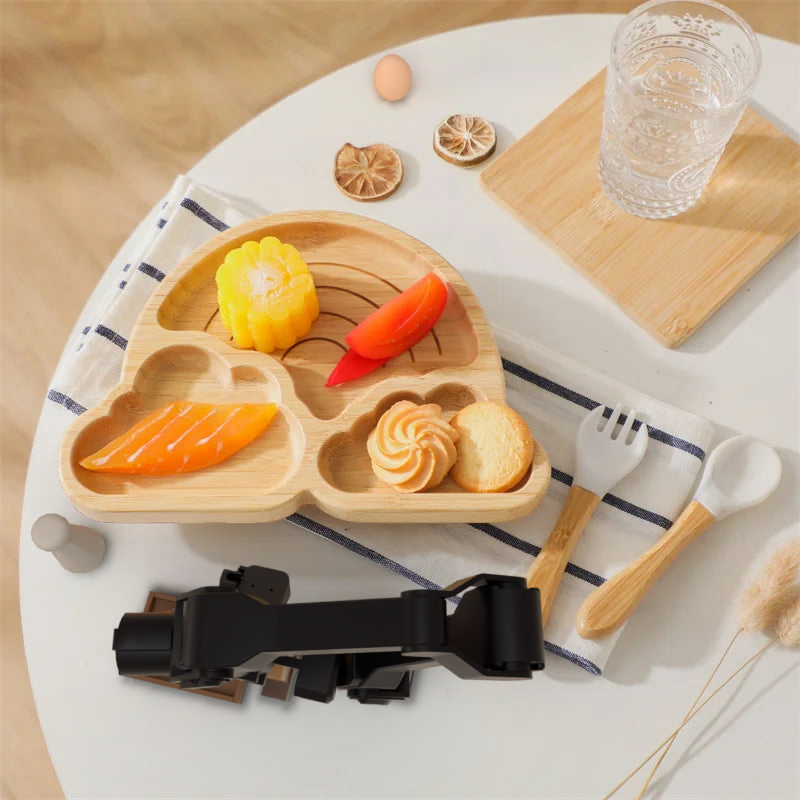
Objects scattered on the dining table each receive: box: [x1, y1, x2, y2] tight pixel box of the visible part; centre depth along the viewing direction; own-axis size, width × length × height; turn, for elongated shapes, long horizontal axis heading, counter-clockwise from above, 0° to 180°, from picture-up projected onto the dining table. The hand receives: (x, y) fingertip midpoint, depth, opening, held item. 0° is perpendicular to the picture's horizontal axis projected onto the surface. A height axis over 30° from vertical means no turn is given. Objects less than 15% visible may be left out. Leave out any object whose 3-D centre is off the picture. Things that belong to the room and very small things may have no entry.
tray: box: [124, 590, 248, 705], centre depth 109 cm, size 14×10×2 cm
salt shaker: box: [30, 513, 106, 574], centre depth 109 cm, size 6×6×13 cm
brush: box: [260, 655, 301, 703], centre depth 105 cm, size 3×7×7 cm, turn 167°
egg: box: [372, 53, 413, 102], centre depth 135 cm, size 6×6×8 cm
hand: (265, 661), depth 102 cm, fingers open, 9 cm apart
